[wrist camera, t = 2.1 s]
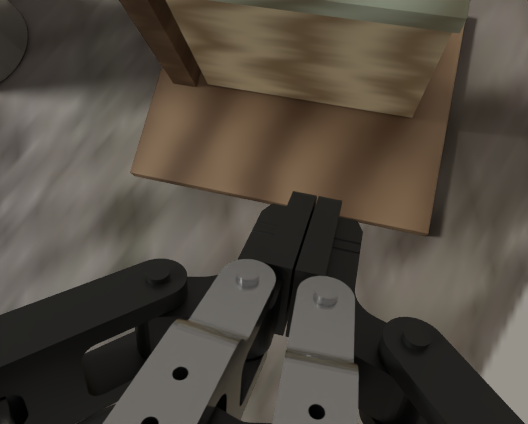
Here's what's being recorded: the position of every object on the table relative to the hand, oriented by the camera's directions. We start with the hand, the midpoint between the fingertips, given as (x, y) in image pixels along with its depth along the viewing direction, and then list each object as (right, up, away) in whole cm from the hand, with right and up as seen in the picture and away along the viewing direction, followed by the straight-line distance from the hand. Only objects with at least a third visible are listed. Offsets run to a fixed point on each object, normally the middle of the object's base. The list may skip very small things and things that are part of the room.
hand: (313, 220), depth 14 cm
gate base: (+1, +10, +23) cm, 25 cm away
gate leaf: (+2, +10, +21) cm, 23 cm away
